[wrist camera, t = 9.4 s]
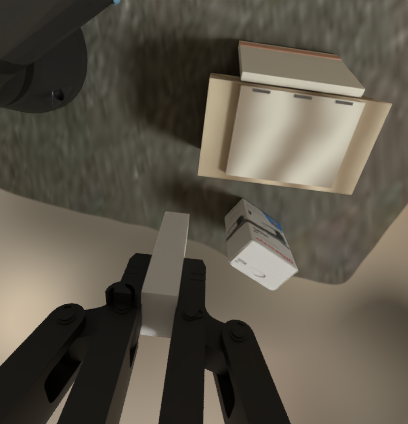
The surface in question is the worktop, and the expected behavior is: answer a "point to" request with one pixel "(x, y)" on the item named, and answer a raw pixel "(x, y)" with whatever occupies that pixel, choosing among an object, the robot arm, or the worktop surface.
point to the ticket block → (287, 135)
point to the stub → (296, 69)
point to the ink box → (258, 246)
